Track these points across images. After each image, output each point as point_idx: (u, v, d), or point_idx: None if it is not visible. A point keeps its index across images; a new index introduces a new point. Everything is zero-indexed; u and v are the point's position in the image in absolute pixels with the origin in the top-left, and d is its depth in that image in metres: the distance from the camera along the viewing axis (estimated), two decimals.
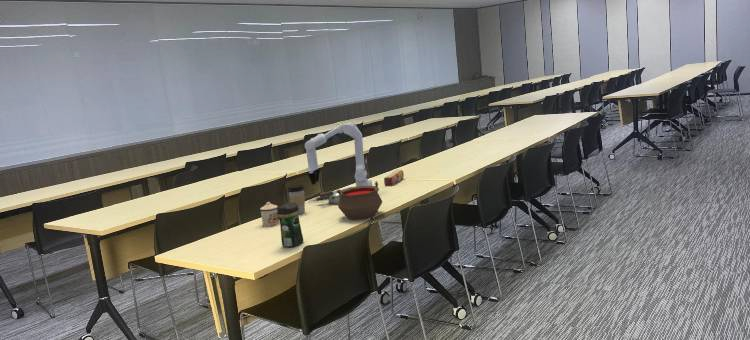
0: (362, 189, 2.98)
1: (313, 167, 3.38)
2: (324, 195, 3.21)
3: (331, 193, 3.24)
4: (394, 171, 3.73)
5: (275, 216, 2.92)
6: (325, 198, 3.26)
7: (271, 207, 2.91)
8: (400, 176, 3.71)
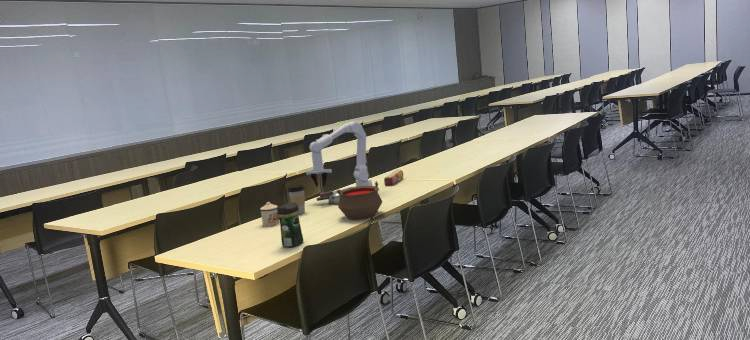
0: (362, 189, 2.98)
1: (313, 170, 3.28)
2: (324, 195, 3.21)
3: (331, 193, 3.24)
4: (394, 171, 3.73)
5: (275, 216, 2.92)
6: (325, 198, 3.26)
7: (271, 207, 2.91)
8: (400, 176, 3.71)
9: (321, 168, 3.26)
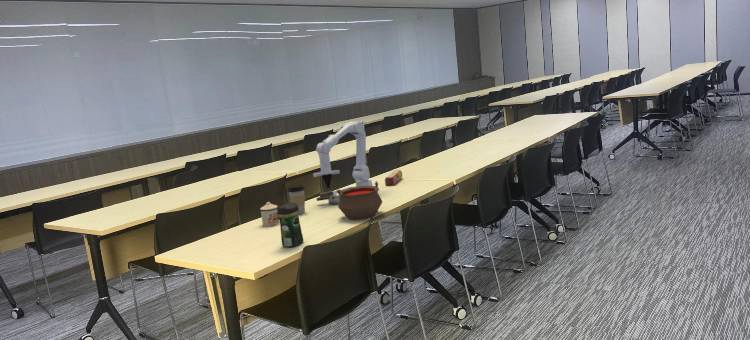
0: (362, 189, 2.98)
1: (321, 171, 3.20)
2: (324, 195, 3.21)
3: (331, 193, 3.24)
4: (393, 171, 3.73)
5: (275, 216, 2.92)
6: (325, 198, 3.26)
7: (271, 207, 2.91)
8: (399, 176, 3.71)
9: (330, 169, 3.20)
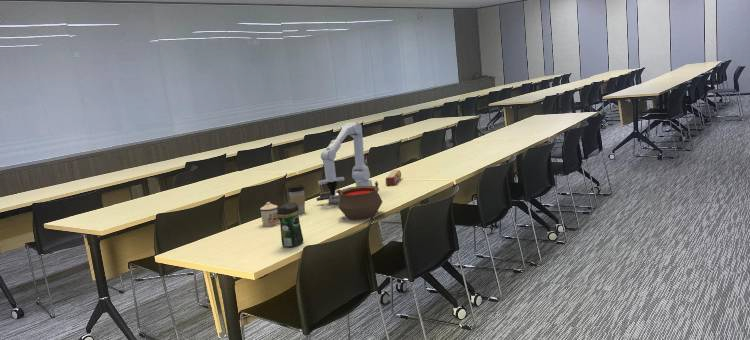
0: (362, 189, 2.98)
1: (326, 179, 3.16)
2: (324, 195, 3.21)
3: None
4: (392, 171, 3.73)
5: (275, 216, 2.92)
6: (325, 198, 3.26)
7: (271, 207, 2.91)
8: (399, 176, 3.71)
9: (335, 176, 3.17)
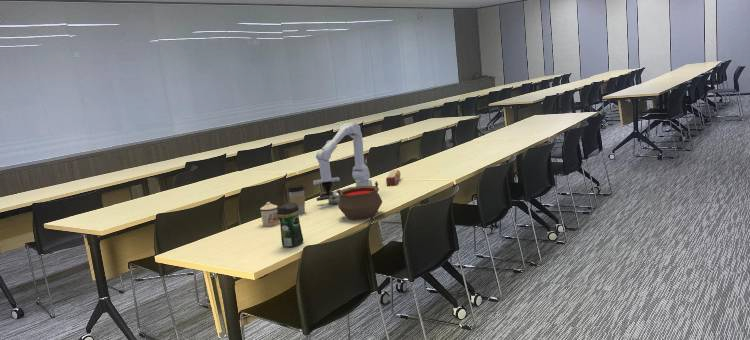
0: (362, 189, 2.98)
1: (321, 179, 3.18)
2: (324, 195, 3.21)
3: (331, 193, 3.24)
4: (392, 171, 3.73)
5: (275, 216, 2.92)
6: (325, 198, 3.26)
7: (271, 207, 2.91)
8: (398, 176, 3.72)
9: (330, 176, 3.18)
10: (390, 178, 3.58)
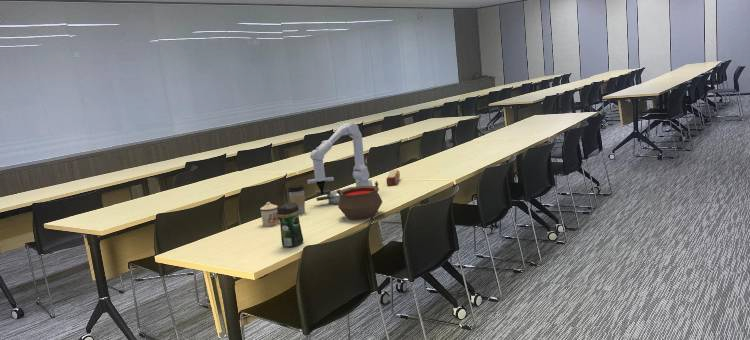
0: (362, 189, 2.98)
1: (315, 178, 3.22)
2: (319, 194, 3.26)
3: (328, 192, 3.27)
4: (392, 171, 3.73)
5: (275, 216, 2.92)
6: (325, 198, 3.26)
7: (271, 207, 2.91)
8: (398, 176, 3.72)
9: (323, 176, 3.22)
10: (390, 178, 3.58)
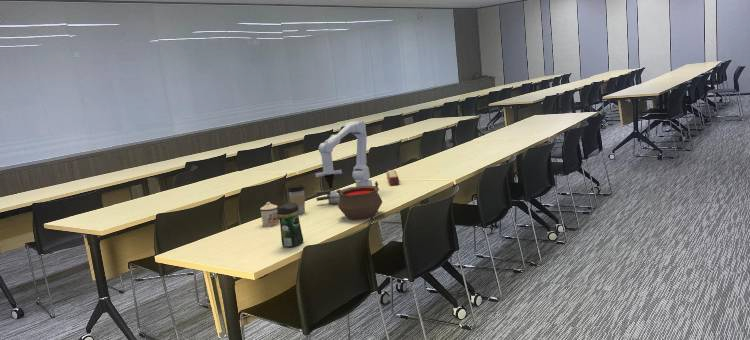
0: (362, 189, 2.98)
1: (323, 171, 3.20)
2: (319, 194, 3.26)
3: (328, 192, 3.27)
4: (390, 171, 3.73)
5: (275, 216, 2.92)
6: (325, 198, 3.26)
7: (271, 207, 2.91)
8: None
9: (332, 169, 3.20)
10: (393, 178, 3.58)
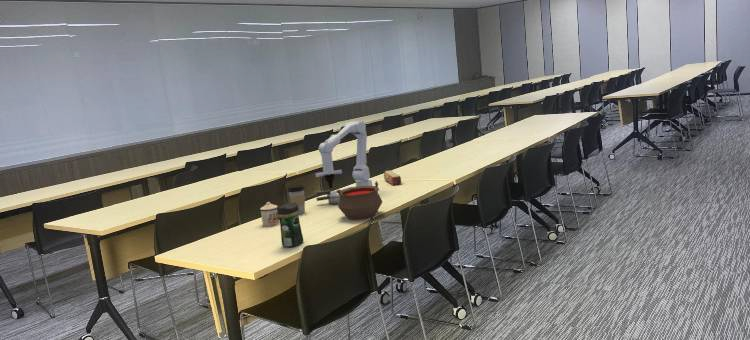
0: (362, 189, 2.98)
1: (323, 171, 3.20)
2: (319, 194, 3.26)
3: (328, 192, 3.27)
4: (388, 172, 3.72)
5: (275, 216, 2.92)
6: (325, 198, 3.26)
7: (271, 207, 2.91)
8: None
9: (332, 169, 3.20)
10: (396, 177, 3.58)
